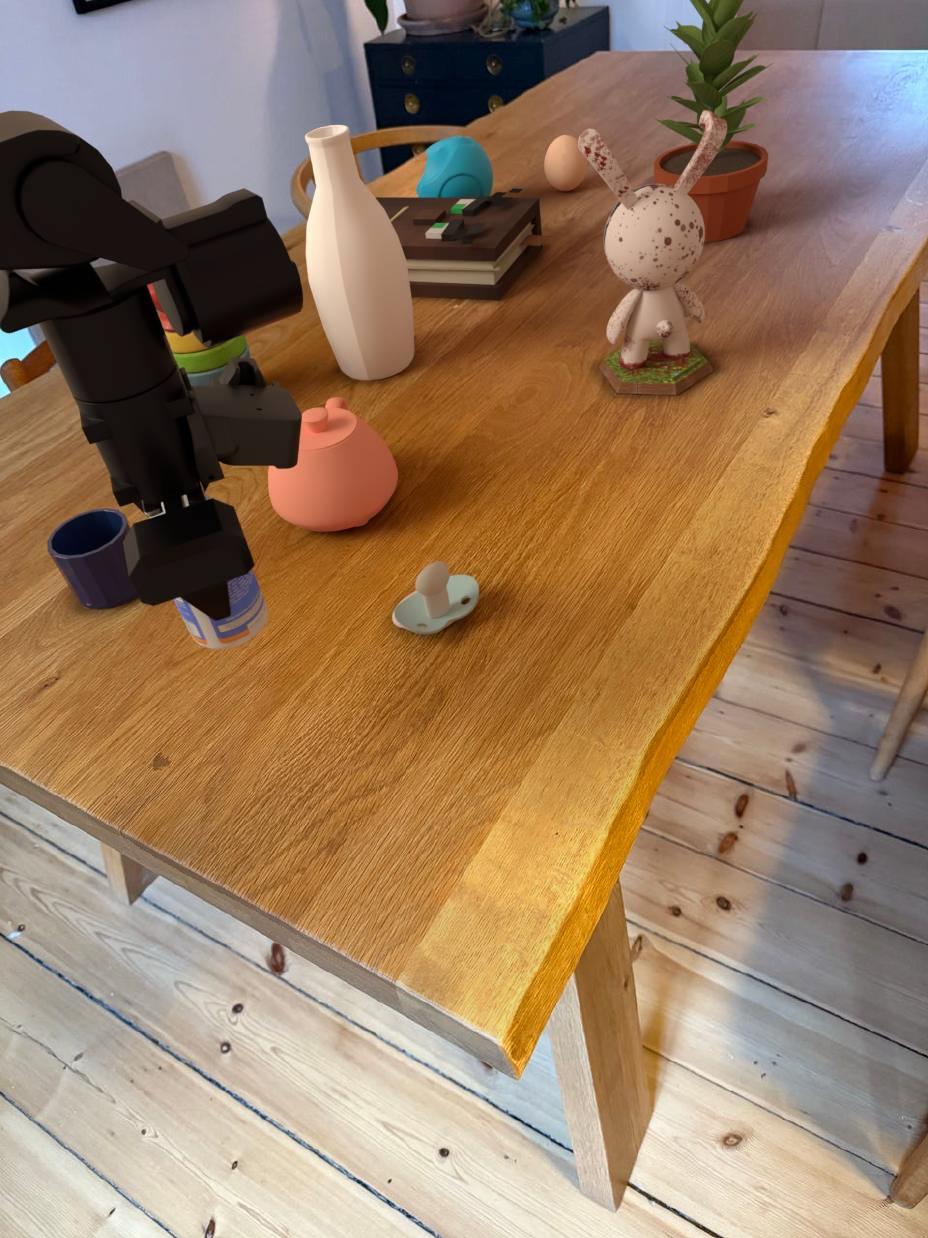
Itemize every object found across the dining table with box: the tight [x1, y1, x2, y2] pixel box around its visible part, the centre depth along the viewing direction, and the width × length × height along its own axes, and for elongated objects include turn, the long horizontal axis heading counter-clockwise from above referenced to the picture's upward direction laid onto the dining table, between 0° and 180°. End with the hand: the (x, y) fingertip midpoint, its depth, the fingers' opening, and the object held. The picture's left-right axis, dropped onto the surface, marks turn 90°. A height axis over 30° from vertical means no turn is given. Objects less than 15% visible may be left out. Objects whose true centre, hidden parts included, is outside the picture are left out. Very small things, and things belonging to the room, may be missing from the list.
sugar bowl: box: [267, 396, 399, 533], centre depth 83 cm, size 12×14×10 cm
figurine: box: [577, 110, 727, 397], centre depth 88 cm, size 14×12×25 cm
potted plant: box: [653, 0, 774, 243], centre depth 112 cm, size 15×15×30 cm
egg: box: [543, 134, 588, 192], centre depth 138 cm, size 7×7×8 cm
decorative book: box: [375, 187, 550, 301], centre depth 122 cm, size 19×8×30 cm
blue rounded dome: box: [415, 134, 494, 198], centre depth 134 cm, size 12×11×12 cm
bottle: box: [304, 124, 415, 382], centre depth 98 cm, size 11×11×25 cm
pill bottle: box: [148, 493, 269, 650], centre depth 58 cm, size 5×5×10 cm
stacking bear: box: [147, 283, 251, 386], centre depth 99 cm, size 11×10×18 cm
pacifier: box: [391, 560, 480, 635], centre depth 71 cm, size 7×6×6 cm
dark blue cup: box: [46, 507, 138, 610], centre depth 80 cm, size 7×7×6 cm
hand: (215, 591), depth 59 cm, fingers closed on pill bottle, 5 cm apart
